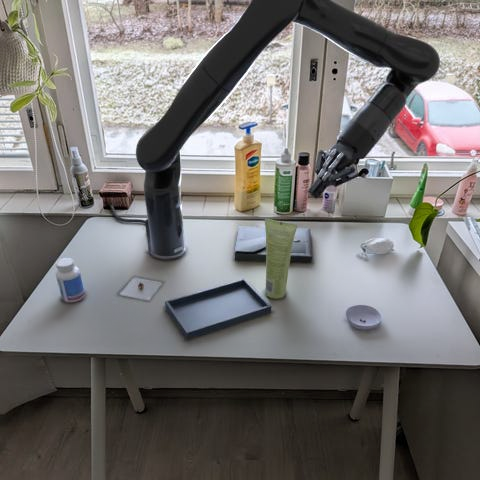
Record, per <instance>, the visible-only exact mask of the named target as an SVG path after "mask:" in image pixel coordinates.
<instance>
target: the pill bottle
mask: <svg viewBox="0 0 480 480" xmlns="http://www.w3.org/2000/svg"><path fill="white" fill-rule="evenodd" d="M55 266H56V269H57V270H56V271H55V277H56V281H57V285H58V289H59V292H60V296H61V298H62V300H63V301H64V302H66V303H76V302H79V301H81V300H82V299H84V297H85V295H86V294H85V288H84V284H83V279H82V275H81V272H80V268H78V267H77V266H76V264H75V261H74V259H73V258H70V257H63V258H60V259H58V260H56V262H55Z"/></svg>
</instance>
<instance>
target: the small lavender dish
mask: <svg viewBox="0 0 480 480" xmlns="http://www.w3.org/2000/svg"><path fill="white" fill-rule="evenodd" d="M345 319H346V321H347V322H348V324H349V325H350V326H352V327H353V328H356V329H359V330H363V331H364V330H371V329H375V328H377V327H379V326H380V324H381V323H382V319H383V318H382V314H381V313H380V312H379V310H377V308H374V307H373V306H370V305H367V304H357V305H356V304H355V305H353V306H350V307H348V308H347V309H346V311H345Z"/></svg>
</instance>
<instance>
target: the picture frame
mask: <svg viewBox="0 0 480 480" xmlns="http://www.w3.org/2000/svg"><path fill="white" fill-rule="evenodd" d="M237 229H238V230H237V235H236V242H235V246H234V261H243V262H244V261H247V262H248V261H249V262H266V229H265V226H252V225H251V226H250V225H249V226H248V225H247V226H245V225H238V228H237ZM311 233H312V232H311V228H306V227H305V228H301V227H297V229H296V232H295V236H294V241H293V246H292V251H291V257H290V263H295V264H296V263H297V264H313V246H312V234H311Z"/></svg>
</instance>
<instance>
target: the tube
mask: <svg viewBox="0 0 480 480" xmlns="http://www.w3.org/2000/svg"><path fill="white" fill-rule="evenodd" d="M264 227H265V229H266V261H265V264H266V265H265V295H266V296H267V297H268V298H270V299H282V298H283V297H285V295H286V293H287V284H288V277H289V270H290V264H291V262H290V257H291V251H292V246H293V241H294V236H295V232H296V229H297V228H298V224H296V223H291V222H285V221H280V220H275V219H271V218H264Z"/></svg>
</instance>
